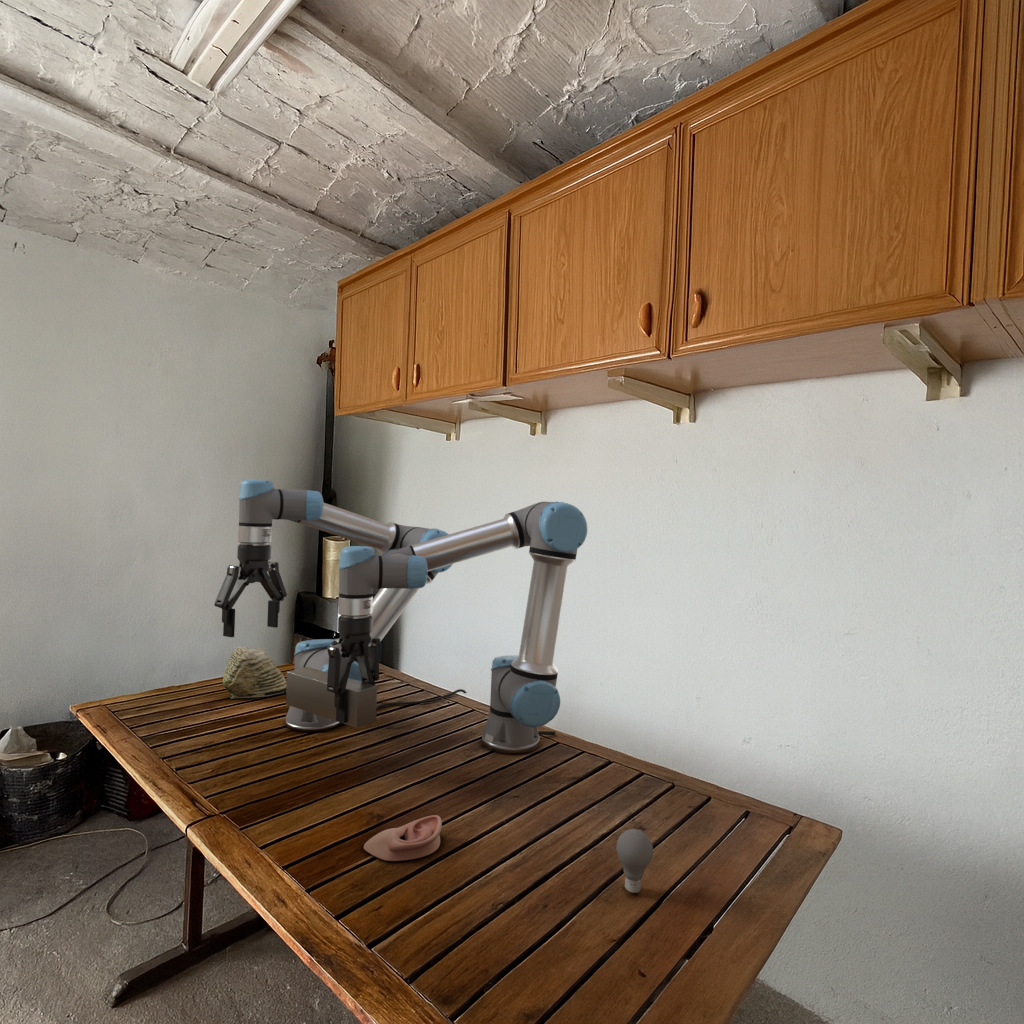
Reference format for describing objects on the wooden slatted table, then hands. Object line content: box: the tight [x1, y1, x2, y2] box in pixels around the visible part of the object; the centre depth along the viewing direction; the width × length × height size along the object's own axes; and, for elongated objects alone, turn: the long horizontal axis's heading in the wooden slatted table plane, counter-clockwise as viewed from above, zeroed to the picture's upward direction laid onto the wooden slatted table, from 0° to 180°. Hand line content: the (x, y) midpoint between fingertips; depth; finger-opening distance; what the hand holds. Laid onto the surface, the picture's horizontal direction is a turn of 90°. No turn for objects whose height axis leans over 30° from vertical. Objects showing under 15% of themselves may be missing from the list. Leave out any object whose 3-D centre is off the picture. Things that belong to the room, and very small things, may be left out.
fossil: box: [222, 646, 287, 699], centre depth 198 cm, size 9×18×15 cm, turn 132°
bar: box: [285, 667, 378, 729], centre depth 147 cm, size 24×6×8 cm, turn 56°
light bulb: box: [615, 828, 654, 894], centre depth 106 cm, size 6×6×10 cm
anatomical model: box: [363, 814, 443, 862], centre depth 116 cm, size 13×4×12 cm
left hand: (251, 631), depth 153 cm, fingers open, 13 cm apart
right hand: (352, 717), depth 143 cm, fingers closed on bar, 6 cm apart
